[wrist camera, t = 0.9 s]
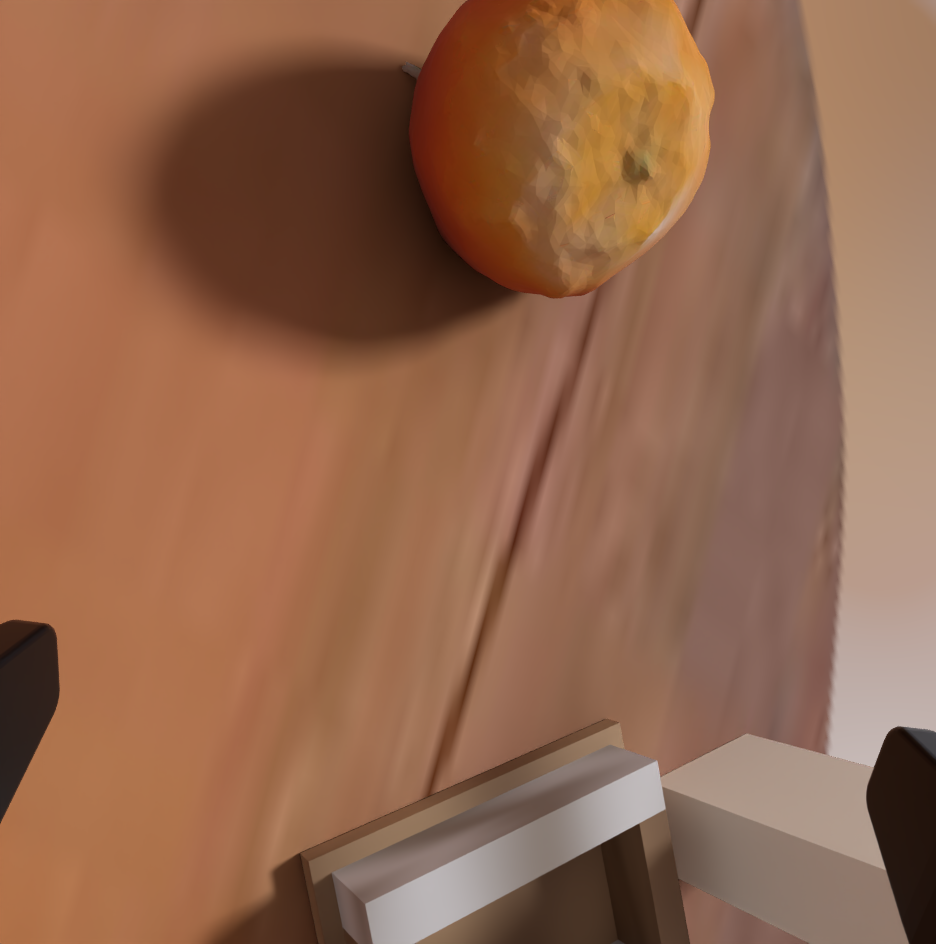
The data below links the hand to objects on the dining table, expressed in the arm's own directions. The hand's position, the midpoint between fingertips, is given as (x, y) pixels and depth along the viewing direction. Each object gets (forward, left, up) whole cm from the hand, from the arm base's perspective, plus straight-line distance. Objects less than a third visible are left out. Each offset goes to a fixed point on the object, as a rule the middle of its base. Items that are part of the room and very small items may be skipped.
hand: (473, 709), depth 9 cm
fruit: (+14, -3, -13) cm, 19 cm away
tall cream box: (0, -18, -13) cm, 22 cm away
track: (-5, -11, -13) cm, 18 cm away
